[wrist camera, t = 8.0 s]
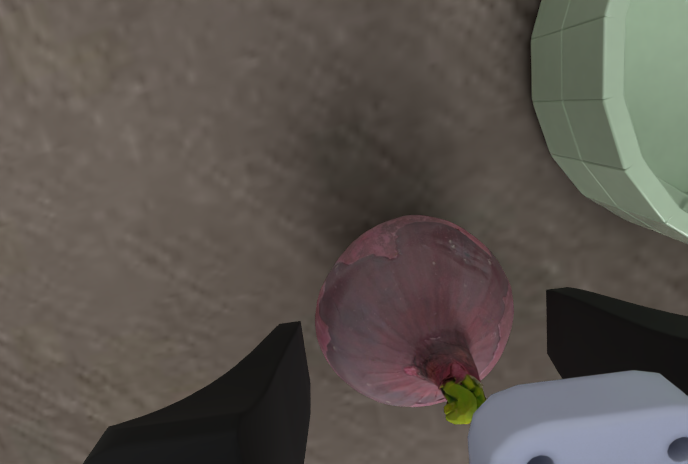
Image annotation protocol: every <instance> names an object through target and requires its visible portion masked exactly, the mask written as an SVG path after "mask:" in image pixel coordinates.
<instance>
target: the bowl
mask: <svg viewBox="0 0 688 464" xmlns="http://www.w3.org/2000/svg"><path fill="white" fill-rule="evenodd" d="M531 39H532V40H531V78H532V101H533V105H534V108H535V111H536V114H537V117H538V120H539V123H540V126H541V129H542V131H543V134H544V137H545V140H546V143H547V146H548V149H549V152H550V153H551V156H552V157H553V159H554V160H555V161H556V162H557V164H558V165H559V166H560V167H561V169H562V170H563V171H564V172H565V174H566V175H567V176H568V177H569V179H570V180H571V181H572V182H573V184H574V185H575V186H576V187H577V189H578V190H579V191H580V192H581V194H583V195H585V197H587V198H589V199H590V200H592V201H594V202H595V203H597V204H599V205H600V206H602V207H604V208H606V209H607V210H609V211H611V212H612V213H614V214H616V215H617V216H619V217H621V218H622V219H624V220H626V221H629V222H631V223H634V224H637V225H639V226H642V227H644V228H647V229H650V230H652V231H655V232H658V233H660V234H663V235H665V236H668V237H670V238H673V239H676V240H678V241H681V242H684V243H686V244H688V0H541V4H540V7H539V11H538V15H537V18H536V22H535V26H534V29H533V33H532V37H531Z"/></svg>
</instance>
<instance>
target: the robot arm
mask: <svg viewBox="0 0 688 464" xmlns="http://www.w3.org/2000/svg"><path fill="white" fill-rule="evenodd" d="M546 303H547V354H548V355H549V357H550V359H551V361H552V362H553V364H554V366H555V368H556V369H557V371H558V372H559V374H560V376H561V377H562V379H560V380H552V381H544V382H537V383H529V384H521V385H516V386H513V387H511V388H508V389H505V390H502V391H500V392H497V393H494V394H492V395H491V396H490V397H489V398H488V399H487V400H486V401H485V402H484V403H483V404H482V405H481V406H480V407H479V408H478V409H477V410H476V411H475V412H474V413H473V417H472V421H471V425H470V429H469V434H468V449H469V464H688V316H683V315H678V314H673V313H669V312H665V311H661V310H656V309H652V308H648V307H644V306H640V305H636V304H633V303H629V302H625V301H622V300H618V299H615V298H611V297H608V296H604V295H601V294H597V293H593V292H589V291H585V290H581V289H576V288H569V287H566V288H558V289H550V290H546ZM309 421H310V378H309V372H308V366H307V359H306V353H305V347H304V340H303V334H302V328H301V321H298V322H291V323H283V324H279V325H278V326H277V327H276V328H275V329H274V330H273V331H272V332H271V333H270V334H269V335H268V336H267V337H266V338H265V339H264V340H263V341H262V342H261V343H260V344H259V345H258V346H257V347H256V348H255V349H254V350H253V351H252V352H251V353H250V354H248V355H247V356H246V357H245V358H244V359H243V360H242V361H240V362H239V363H238V364H237V365H236V366H235V367H233V368H232V369H231V370H230V371H228V372H227V373H226V374H224V375H223V376H221V377H220V378H218V379H217V380H215V381H214V382H213V383H211V384H209V385H208V386H206V387H204V388H203V389H201V390H199V391H197V392H195V393H193V394H192V395H190V396H188V397H186V398H184V399H182V400H180V401H178V402H176V403H174V404H172V405H170V406H167V407H165V408H163V409H160V410H158V411H155V412H153V413H150V414H147V415H145V416H142V417H139V418H136V419H132V420H129V421H126V422H123V423H120V424H117V425H113V426H110V427H108V428H107V430H106V431H105V432H104V434H103V435H102V437H101V438H100V440H99V441H98V442H97V444H96V445H95V447H94V448H93V450H92V451H91V453H90V454H89V456H88V457H87V458H86V460H85V461H84V463H83V464H304V458H305V451H306V443H307V436H308V428H309Z"/></svg>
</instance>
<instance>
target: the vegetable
mask: <svg viewBox="0 0 688 464" xmlns="http://www.w3.org/2000/svg"><path fill="white" fill-rule="evenodd" d="M513 314H514V307H513V296H512V290H511V286H510V283H509V280H508V278H507V276H506V274H505V272H504V271H503V269H502V267H501V265H500V263H499V262H498V260H497V259H496V257H495V256H494V255H493V254H492V253H491V251H490V250H489V249H488V248H487V247H486V246H485V245H484V244H482V243H481V242H480V241H479V240H478V239H477V238H476V237H474V236H473V235H471V234H470V233H468V232H467V231H466V230H464V229H462V228H461V227H459V226H457V225H456V224H454V223H451V222H449V221H446V220H443V219H439V218H434V217H430V216H423V215H408V216H402V217H398V218H395V219H392V220H389V221H386V222H383V223H381V224H379V225H377V226H375V227H373V228H372V229H370V230H368V231H366V232H365V233H363V234H362V235H361V236H360V237H358V238H357V239H356V240H355V241H353V242H352V243H351V244H350V245H349V247H348V248H347V249H346V250H345V251H344V252H343V254H342V255H341V256H340V257H339V258H338V259H337V261H336V263H335V264H334V266H333V268H332V269H331V271H330V273H329V274H328V276H327V278H326V280H325V282H324V284H323V286H322V288H321V290H320V293H319V297H318V300H317V307H316V314H315V326H316V335H317V339H318V342H319V345H320V348H321V350H322V352H323V354H324V356H325V358H326V360H327V361H328V363H329V364H330V365H331V367H332V368H333V370H334V371H335V372H336V373H337V374H338V376H339V377H340V378H341V379H342V380H344V381H345V382H346V383H347V384H348V385H350V386H351V387H352V388H353V389H355V390H356V391H358V392H359V393H361V394H363V395H365V396H367V397H369V398H371V399H373V400H375V401H378V402H381V403H384V404H387V405H394V406H401V407H405V406H406V407H420V406H428V405H433V404H437V403H441V402H445V401H447V404H446V405H445V406H444V413H445V414H446V420H447V421H449V422H451V423H453V424H469V423H470V422H471V421H472V417H473V413H474V412H475V411H476V410H477V409H478V408H479V407H480V406H481V405H482V404H483V403H484V402H485V401H486V398H485V395H484V392H483V389H482V387H483V384H482V383H481V381H480V380H482V379H483V378H484V377H485V376H486V375H487V374H488V373H489V372H490V371H491V370H492V368H493V367H494V366H495V364H496V363H497V361H498V360H499V359H500V357H501V355H502V353H503V351H504V348H505V346H506V343H507V340H508V338H509V335H510V331H511V327H512V322H513Z"/></svg>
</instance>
